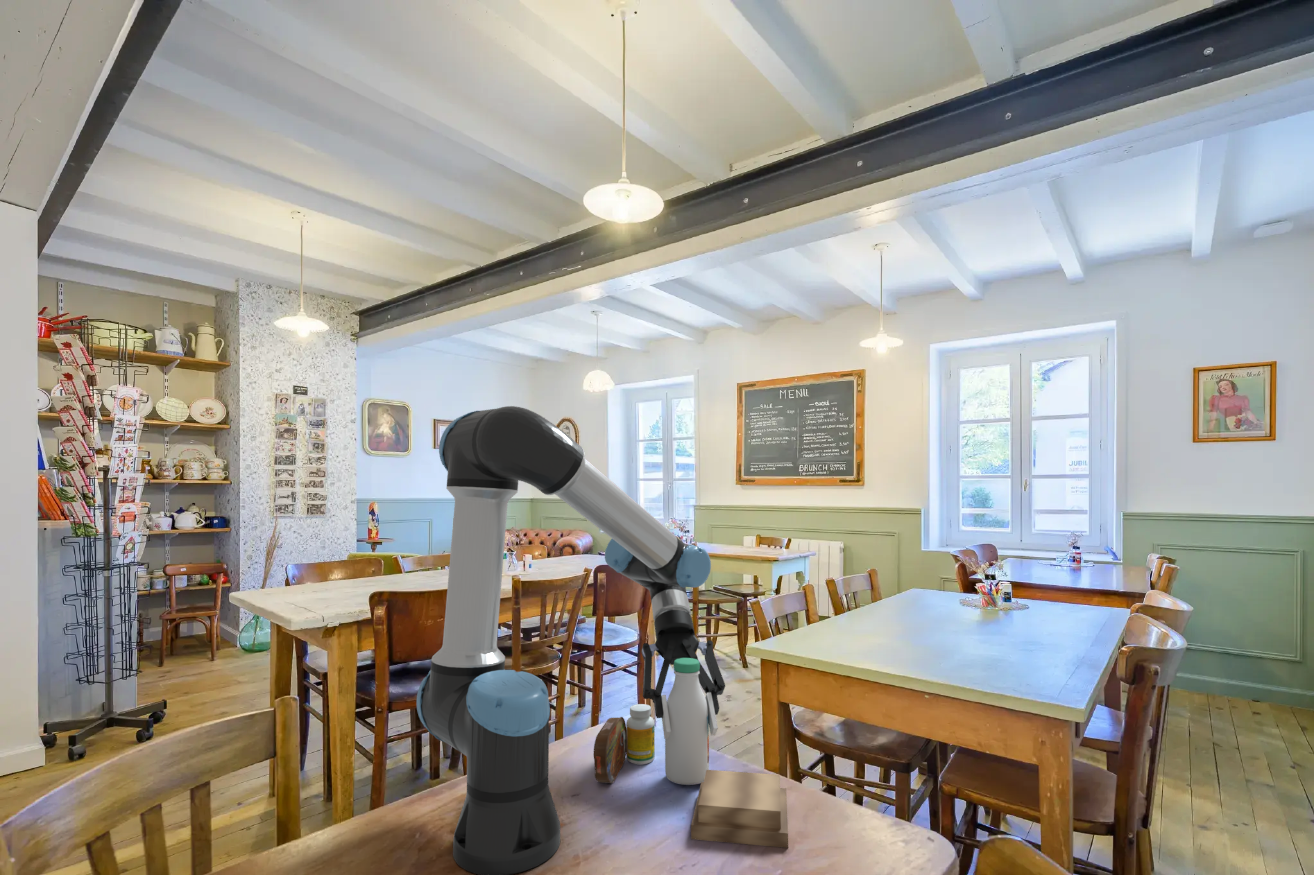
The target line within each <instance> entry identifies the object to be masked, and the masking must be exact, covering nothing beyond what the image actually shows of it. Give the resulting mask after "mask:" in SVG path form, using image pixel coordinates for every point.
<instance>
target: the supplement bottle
mask: <svg viewBox="0 0 1314 875" xmlns="http://www.w3.org/2000/svg"><path fill="white" fill-rule="evenodd" d="M629 715H630V717H628V719H627V720H626V722H625V723H626V757H625V758H626V760H627V761H628V762H629V763H632V764H633V765H646V764H650V763H652V762H653V761H654V760H655V745H656V744H655V740H656V739H655V737H656V734H655V733H656V732H655V730H656V729H655V728H656V726H655V724H656V723H655V720H654V718H653V717H652V716H651V715H652V708H651V706H650V705H649V704H644V703H638V704H632V705H631V706H630V707H629Z"/></svg>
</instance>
